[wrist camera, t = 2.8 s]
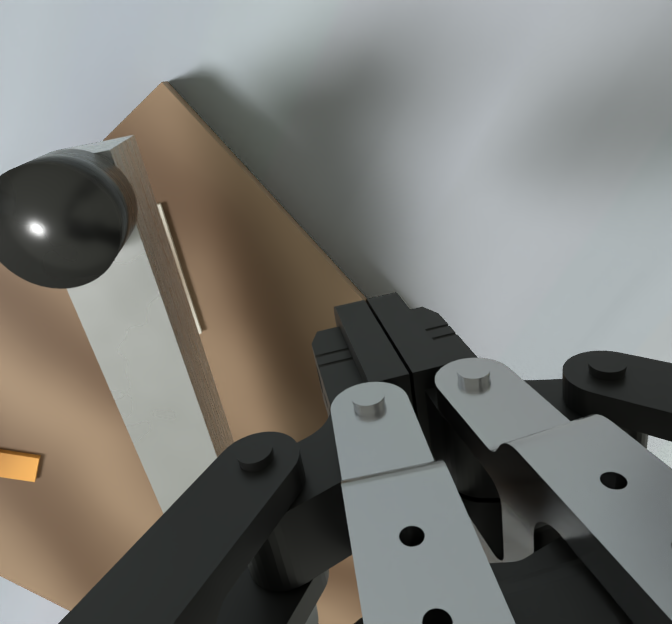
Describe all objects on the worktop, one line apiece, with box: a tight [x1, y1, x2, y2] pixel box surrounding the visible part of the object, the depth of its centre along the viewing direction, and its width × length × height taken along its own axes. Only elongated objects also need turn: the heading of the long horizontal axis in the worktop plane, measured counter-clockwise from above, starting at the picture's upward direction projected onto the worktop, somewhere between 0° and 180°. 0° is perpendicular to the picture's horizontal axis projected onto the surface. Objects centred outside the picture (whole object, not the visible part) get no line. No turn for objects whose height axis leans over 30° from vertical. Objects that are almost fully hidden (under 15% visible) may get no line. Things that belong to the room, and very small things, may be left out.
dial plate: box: [0, 81, 367, 624], centre depth 25 cm, size 20×28×2 cm
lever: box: [0, 135, 318, 624], centre depth 17 cm, size 19×5×8 cm, turn 10°
